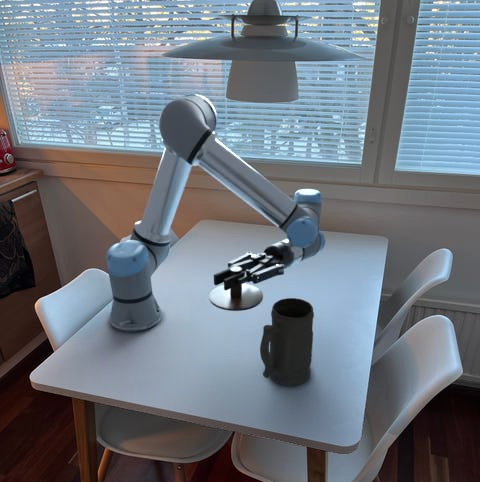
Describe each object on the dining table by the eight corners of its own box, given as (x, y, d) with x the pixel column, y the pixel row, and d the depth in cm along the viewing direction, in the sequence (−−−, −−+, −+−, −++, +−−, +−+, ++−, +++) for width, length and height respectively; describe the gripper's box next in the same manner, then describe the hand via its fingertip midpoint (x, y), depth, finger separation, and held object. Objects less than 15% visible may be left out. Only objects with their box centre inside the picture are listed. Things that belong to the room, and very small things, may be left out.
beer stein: (285, 354, 128) (285, 291, 117) (319, 369, 122) (323, 304, 111) (250, 385, 119) (246, 320, 107) (286, 403, 113) (285, 336, 101)
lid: (198, 297, 123) (196, 268, 119) (236, 280, 131) (236, 252, 127) (235, 317, 114) (235, 287, 110) (274, 297, 123) (275, 268, 118)
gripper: (261, 234, 133) (197, 259, 119) (306, 250, 123) (242, 279, 109) (261, 258, 137) (199, 285, 123) (304, 276, 127) (242, 307, 113)
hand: (220, 282), depth 116 cm, fingers closed on lid, 3 cm apart
